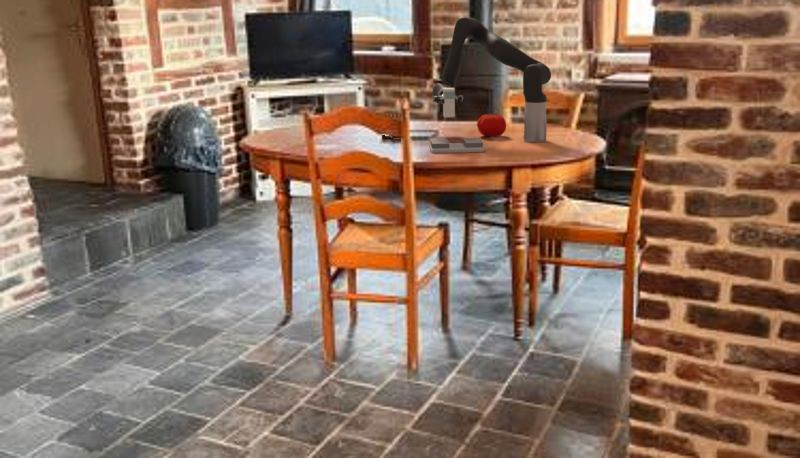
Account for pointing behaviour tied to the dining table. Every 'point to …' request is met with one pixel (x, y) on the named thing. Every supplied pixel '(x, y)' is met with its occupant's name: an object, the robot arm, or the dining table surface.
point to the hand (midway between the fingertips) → (449, 100)
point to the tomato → (491, 125)
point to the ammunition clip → (389, 136)
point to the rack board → (456, 145)
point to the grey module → (449, 102)
